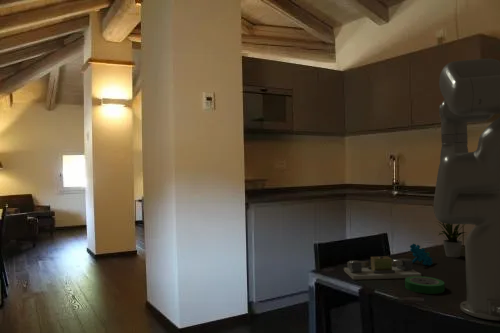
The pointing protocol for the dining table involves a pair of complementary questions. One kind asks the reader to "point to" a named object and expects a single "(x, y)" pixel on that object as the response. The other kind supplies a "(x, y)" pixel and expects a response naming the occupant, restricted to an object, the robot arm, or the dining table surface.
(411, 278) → the tape roll
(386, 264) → the tan box with knob
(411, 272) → the mounting base plate
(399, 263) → the shaft right
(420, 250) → the dark teal lobed piece
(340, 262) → the dining table surface
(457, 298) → the dining table surface
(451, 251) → the house plant
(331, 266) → the dining table surface
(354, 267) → the shaft left
